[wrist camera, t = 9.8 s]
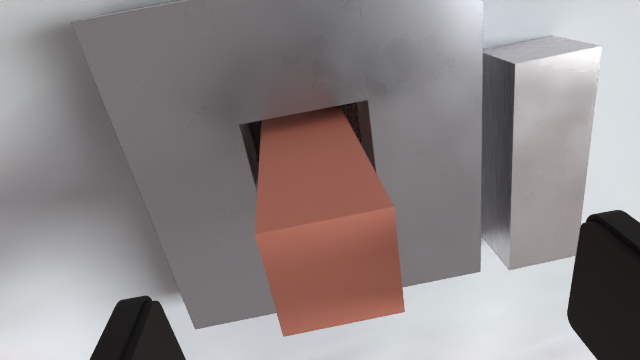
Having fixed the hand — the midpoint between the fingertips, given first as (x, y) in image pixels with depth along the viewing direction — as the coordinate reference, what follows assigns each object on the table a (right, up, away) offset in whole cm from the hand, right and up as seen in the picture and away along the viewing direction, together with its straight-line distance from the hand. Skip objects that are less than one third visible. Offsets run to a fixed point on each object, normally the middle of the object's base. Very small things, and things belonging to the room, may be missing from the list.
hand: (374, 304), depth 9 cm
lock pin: (-2, +5, +10) cm, 11 cm away
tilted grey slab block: (+8, +5, +12) cm, 15 cm away
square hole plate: (-2, +4, +10) cm, 11 cm away
